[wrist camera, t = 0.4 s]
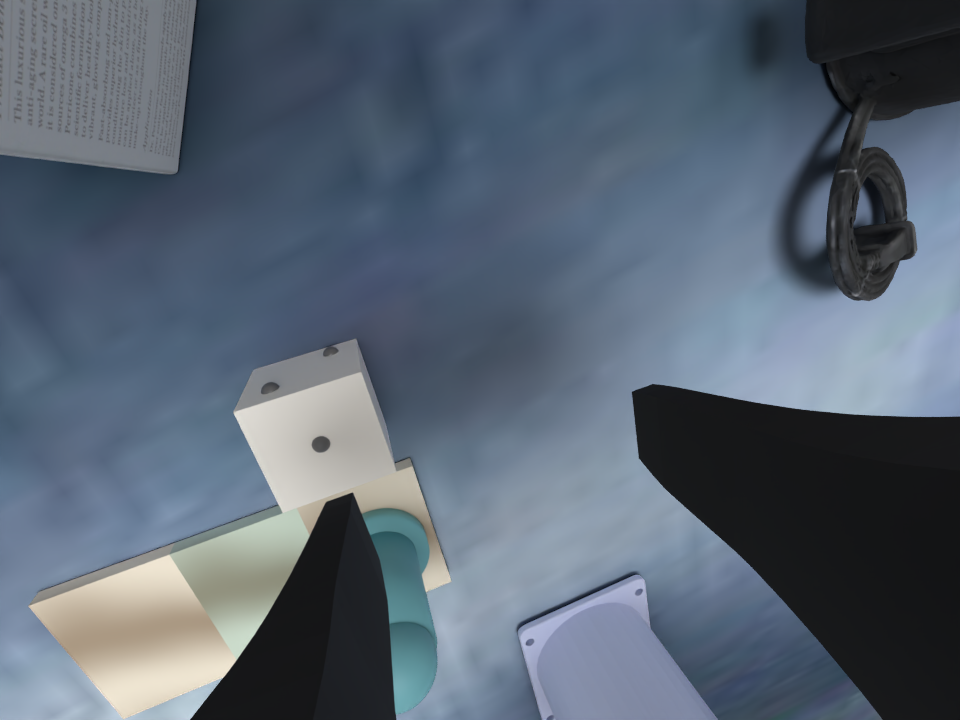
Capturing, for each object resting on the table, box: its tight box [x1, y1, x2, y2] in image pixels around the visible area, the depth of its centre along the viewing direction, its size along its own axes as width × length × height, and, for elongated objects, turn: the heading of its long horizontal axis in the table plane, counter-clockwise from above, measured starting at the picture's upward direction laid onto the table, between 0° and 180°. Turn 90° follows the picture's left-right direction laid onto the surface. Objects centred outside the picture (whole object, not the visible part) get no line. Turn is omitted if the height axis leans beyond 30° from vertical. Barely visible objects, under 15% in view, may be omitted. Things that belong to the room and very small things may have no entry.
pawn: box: [362, 508, 437, 714], centre depth 18 cm, size 4×4×7 cm
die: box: [233, 339, 397, 513], centre depth 17 cm, size 4×4×4 cm
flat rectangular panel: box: [29, 458, 451, 719], centre depth 21 cm, size 7×15×1 cm, turn 103°
